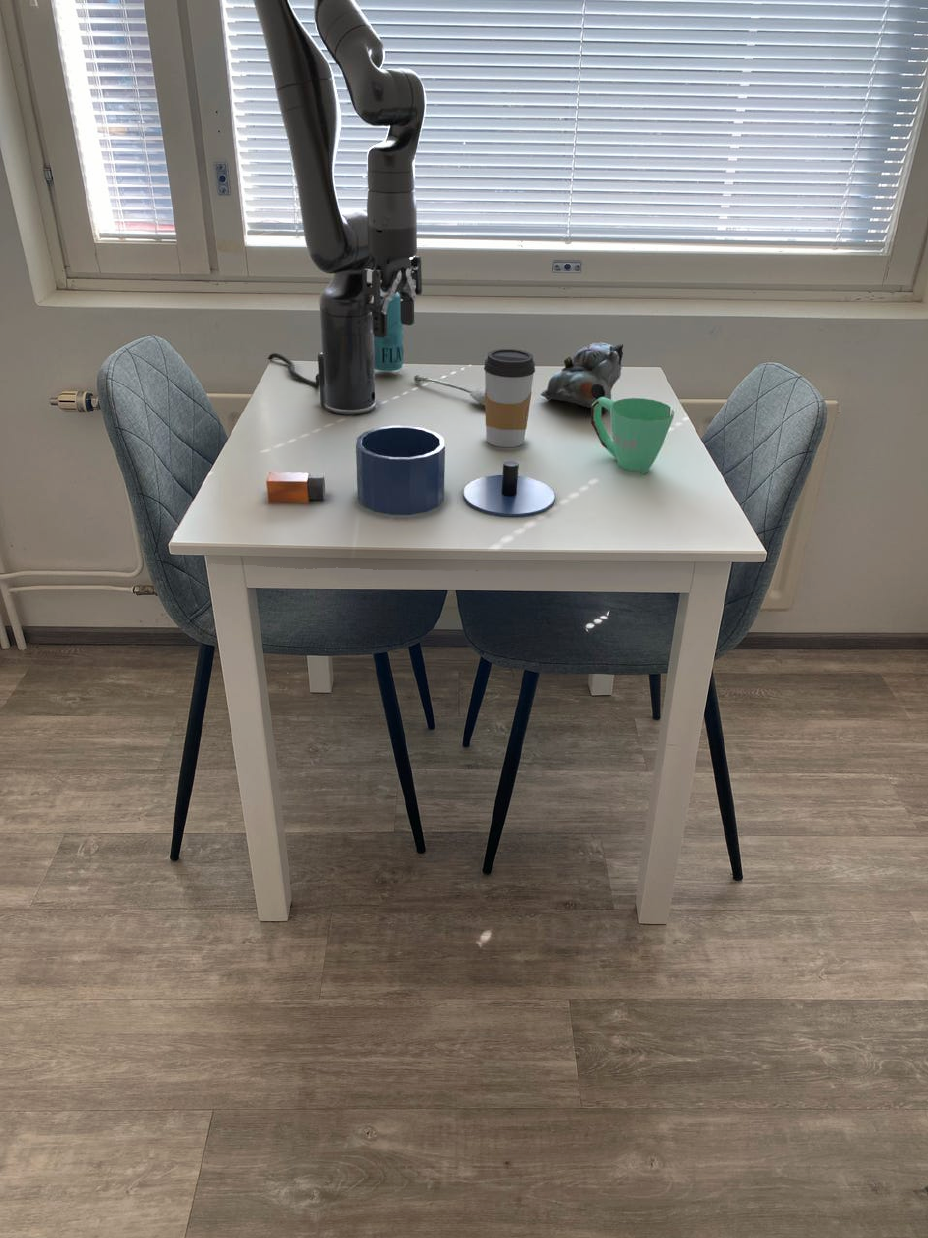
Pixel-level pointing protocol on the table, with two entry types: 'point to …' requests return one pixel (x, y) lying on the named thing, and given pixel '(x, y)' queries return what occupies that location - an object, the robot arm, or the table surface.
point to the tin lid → (509, 493)
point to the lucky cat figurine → (587, 375)
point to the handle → (294, 487)
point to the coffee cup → (507, 395)
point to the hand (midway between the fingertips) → (394, 330)
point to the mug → (633, 430)
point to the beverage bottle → (390, 339)
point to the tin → (400, 470)
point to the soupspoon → (475, 394)
